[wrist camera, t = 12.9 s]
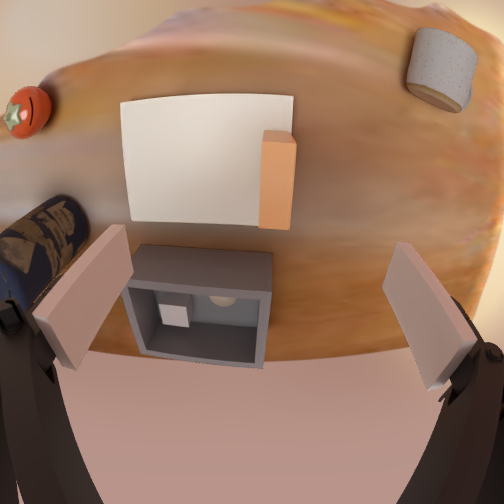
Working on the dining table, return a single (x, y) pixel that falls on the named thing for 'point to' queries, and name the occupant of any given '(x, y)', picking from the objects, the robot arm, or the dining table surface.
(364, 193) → the dining table surface
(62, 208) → the canister
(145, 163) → the lid
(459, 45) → the ceramic mug
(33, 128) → the tomato
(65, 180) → the dining table surface
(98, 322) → the robot arm
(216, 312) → the tub
